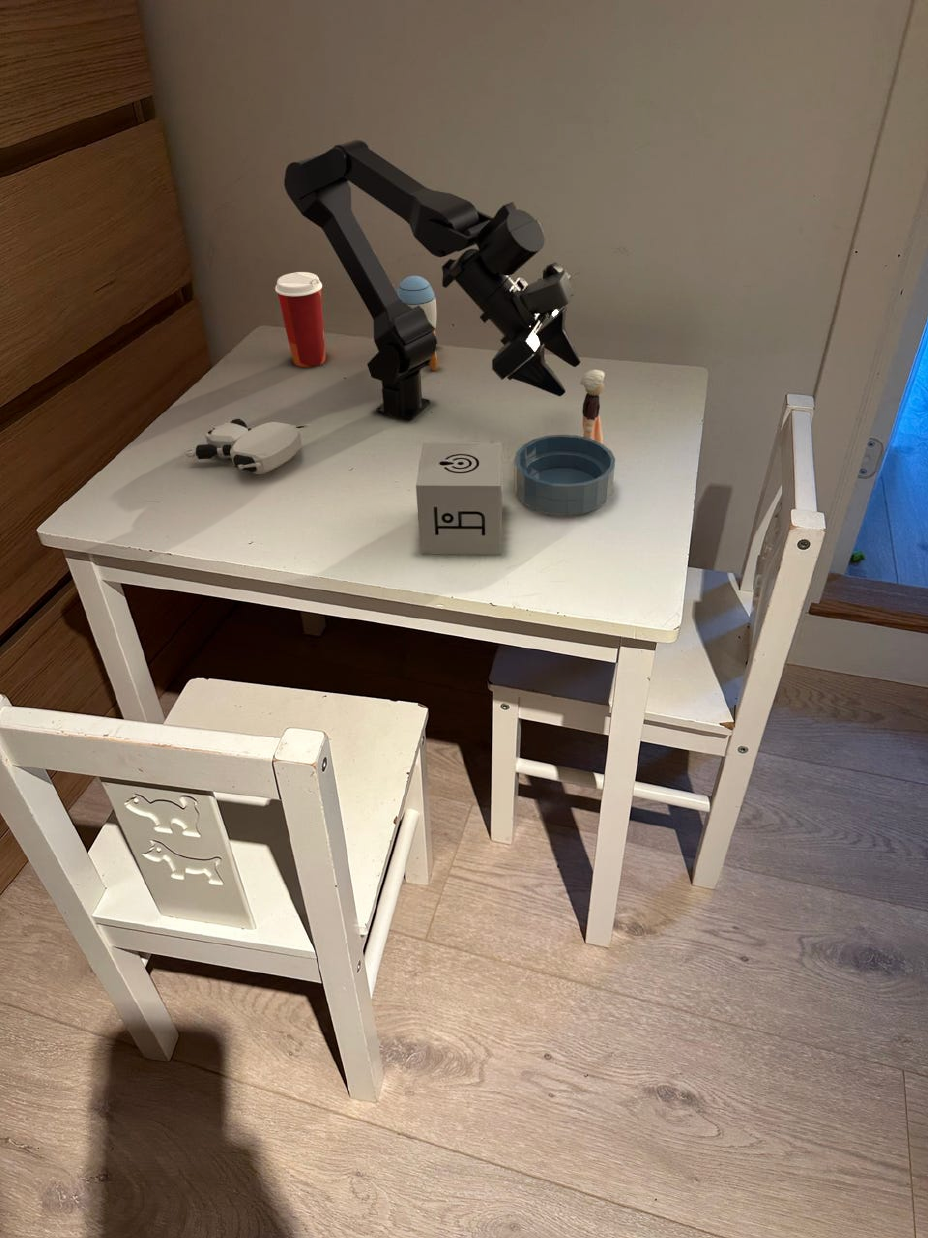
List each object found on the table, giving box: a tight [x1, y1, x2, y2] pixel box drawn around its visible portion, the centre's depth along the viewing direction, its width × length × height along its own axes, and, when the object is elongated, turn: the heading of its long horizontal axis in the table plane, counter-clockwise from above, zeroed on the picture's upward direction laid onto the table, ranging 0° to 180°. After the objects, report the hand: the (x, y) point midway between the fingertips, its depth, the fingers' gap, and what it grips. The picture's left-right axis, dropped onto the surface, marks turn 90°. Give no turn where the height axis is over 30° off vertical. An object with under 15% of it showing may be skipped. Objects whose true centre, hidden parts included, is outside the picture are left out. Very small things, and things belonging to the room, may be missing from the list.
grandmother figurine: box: [579, 369, 606, 445], centre depth 125 cm, size 8×4×13 cm, turn 5°
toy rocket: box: [396, 275, 438, 372], centre depth 149 cm, size 10×11×15 cm
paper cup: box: [274, 271, 326, 368], centre depth 150 cm, size 8×8×14 cm
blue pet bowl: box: [513, 434, 616, 516], centre depth 119 cm, size 13×13×5 cm
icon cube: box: [415, 442, 503, 556], centre depth 111 cm, size 10×10×10 cm
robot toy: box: [185, 418, 311, 475], centre depth 128 cm, size 12×4×15 cm
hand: (570, 379), depth 122 cm, fingers open, 9 cm apart
